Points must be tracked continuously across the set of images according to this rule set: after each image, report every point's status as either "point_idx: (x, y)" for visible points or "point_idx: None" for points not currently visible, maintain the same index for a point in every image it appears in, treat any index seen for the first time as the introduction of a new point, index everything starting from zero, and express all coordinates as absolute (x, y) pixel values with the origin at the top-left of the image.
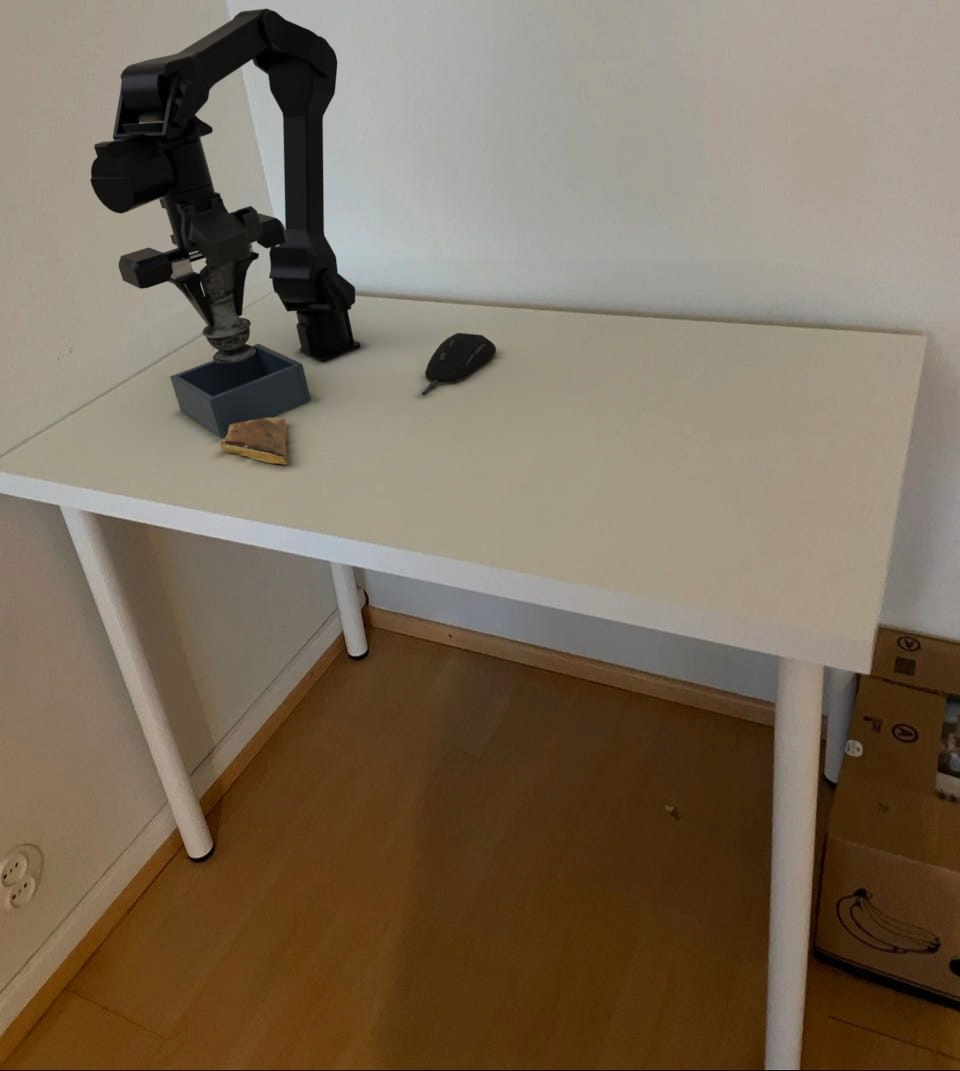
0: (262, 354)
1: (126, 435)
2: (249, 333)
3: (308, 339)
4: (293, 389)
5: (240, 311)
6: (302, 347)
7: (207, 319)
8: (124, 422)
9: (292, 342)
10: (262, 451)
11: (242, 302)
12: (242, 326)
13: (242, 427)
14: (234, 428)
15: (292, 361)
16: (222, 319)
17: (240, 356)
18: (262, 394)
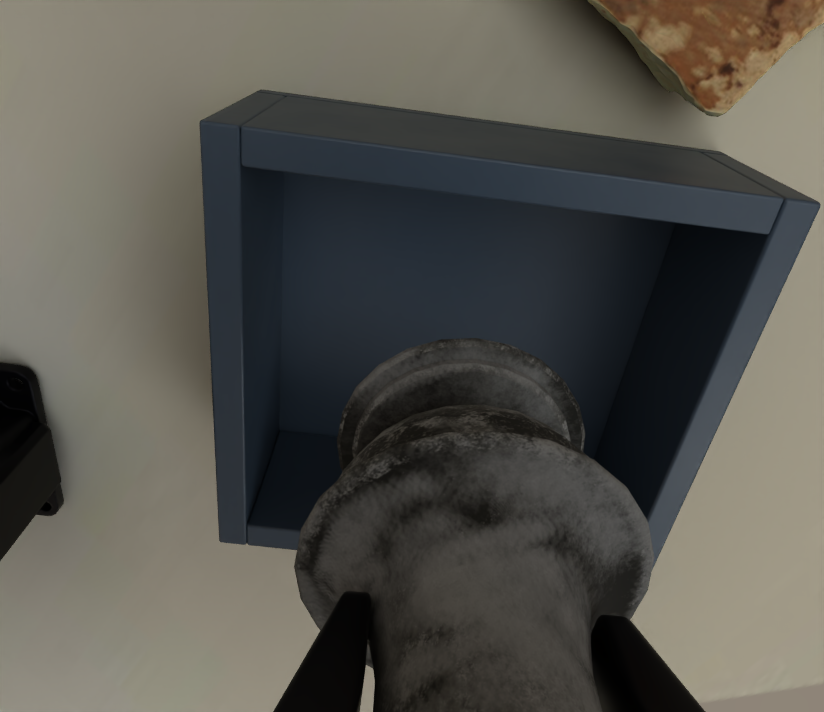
0: (251, 470)
1: (802, 490)
2: (367, 447)
3: (5, 469)
4: (322, 111)
5: (350, 615)
6: (49, 486)
7: (668, 671)
8: (726, 563)
9: (50, 580)
10: None
11: (301, 675)
12: (419, 483)
13: (732, 10)
14: (748, 50)
15: (220, 216)
16: (555, 606)
17: (489, 367)
18: (498, 143)
